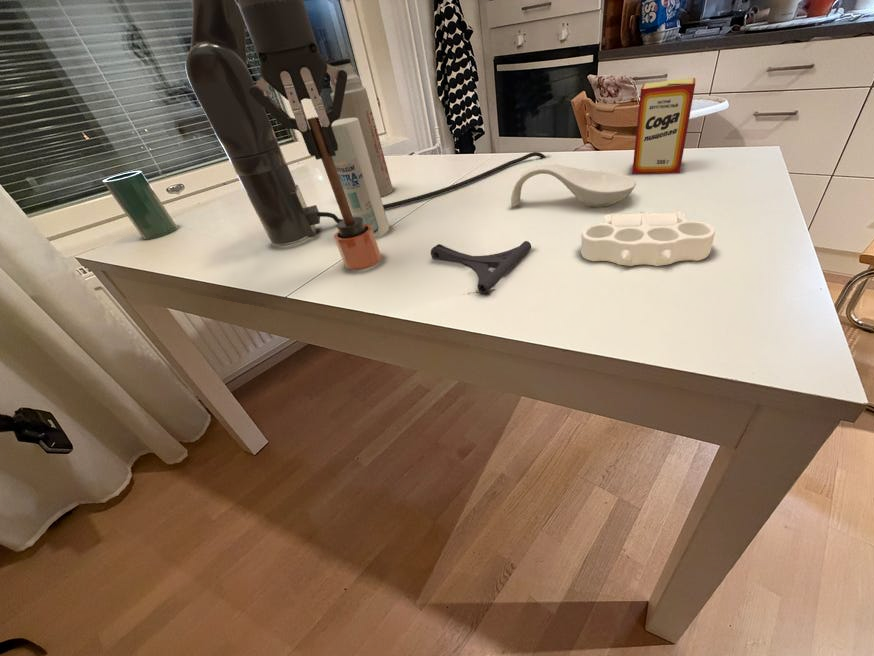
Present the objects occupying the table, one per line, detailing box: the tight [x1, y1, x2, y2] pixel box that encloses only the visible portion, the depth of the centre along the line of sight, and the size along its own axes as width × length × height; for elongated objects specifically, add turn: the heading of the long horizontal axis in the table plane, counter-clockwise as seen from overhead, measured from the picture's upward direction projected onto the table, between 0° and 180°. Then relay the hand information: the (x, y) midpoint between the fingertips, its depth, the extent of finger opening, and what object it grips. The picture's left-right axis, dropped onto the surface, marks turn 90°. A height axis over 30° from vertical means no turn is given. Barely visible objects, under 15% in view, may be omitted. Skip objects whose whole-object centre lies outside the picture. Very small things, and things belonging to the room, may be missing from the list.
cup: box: [102, 170, 178, 240], centre depth 98 cm, size 8×8×14 cm
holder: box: [333, 224, 382, 271], centre depth 68 cm, size 6×6×6 cm
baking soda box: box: [631, 77, 696, 175], centre depth 82 cm, size 10×6×16 cm
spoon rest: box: [510, 163, 637, 208], centre depth 76 cm, size 24×12×7 cm, turn 74°
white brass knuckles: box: [580, 210, 716, 267], centre depth 59 cm, size 3×18×15 cm
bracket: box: [430, 240, 532, 295], centre depth 63 cm, size 14×15×3 cm
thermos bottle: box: [327, 58, 394, 198], centre depth 94 cm, size 8×8×28 cm
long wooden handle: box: [306, 116, 367, 238], centre depth 63 cm, size 4×4×22 cm
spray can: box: [332, 118, 390, 237], centre depth 75 cm, size 6×6×20 cm
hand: (325, 156), depth 59 cm, fingers closed on long wooden handle
